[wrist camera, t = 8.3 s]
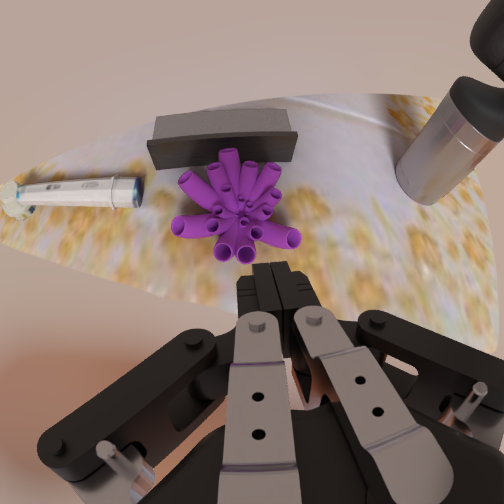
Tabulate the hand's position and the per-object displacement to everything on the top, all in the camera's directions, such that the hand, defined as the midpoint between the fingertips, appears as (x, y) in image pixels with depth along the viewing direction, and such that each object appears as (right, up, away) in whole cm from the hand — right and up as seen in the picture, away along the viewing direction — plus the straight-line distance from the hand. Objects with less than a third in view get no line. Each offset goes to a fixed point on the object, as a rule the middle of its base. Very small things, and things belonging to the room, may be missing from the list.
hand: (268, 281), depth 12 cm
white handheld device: (-28, +8, +23) cm, 37 cm away
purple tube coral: (-3, +6, +23) cm, 24 cm away
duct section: (-5, +16, +26) cm, 32 cm away
